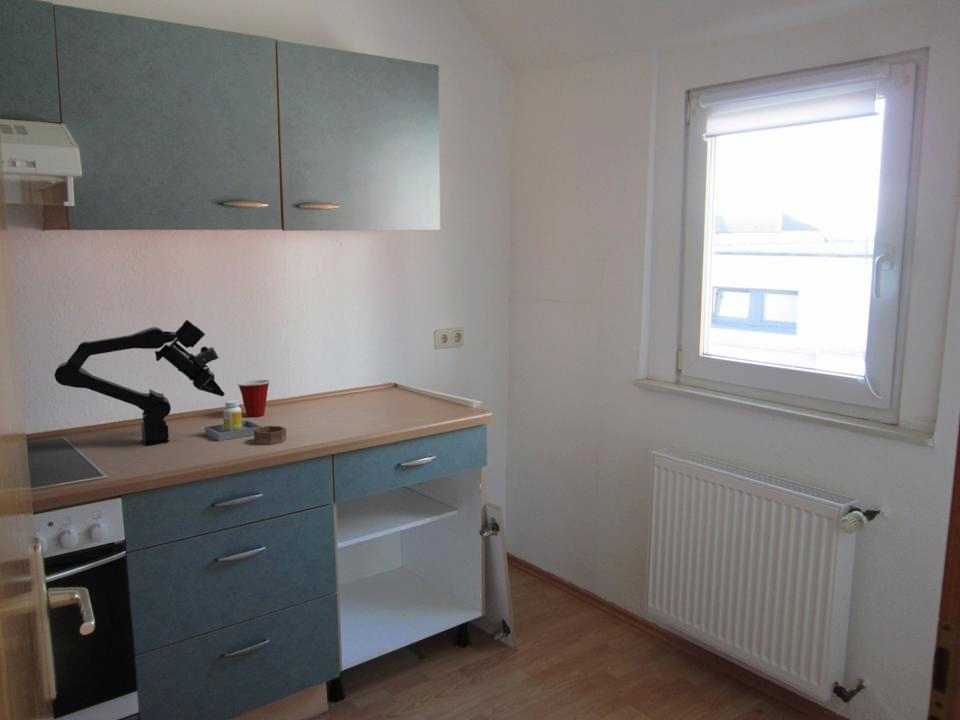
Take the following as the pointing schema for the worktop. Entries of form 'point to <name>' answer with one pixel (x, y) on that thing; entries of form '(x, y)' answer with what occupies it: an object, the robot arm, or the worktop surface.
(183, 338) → the robot arm
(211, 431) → the tray
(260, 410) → the plastic cup
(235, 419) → the supplement bottle
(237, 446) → the worktop surface
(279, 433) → the cup holder
